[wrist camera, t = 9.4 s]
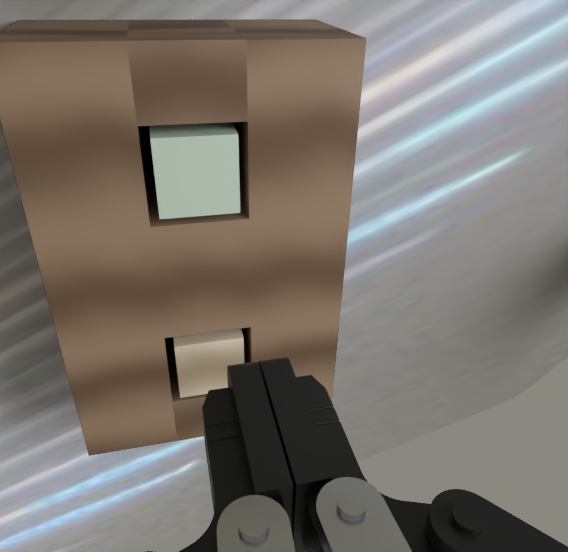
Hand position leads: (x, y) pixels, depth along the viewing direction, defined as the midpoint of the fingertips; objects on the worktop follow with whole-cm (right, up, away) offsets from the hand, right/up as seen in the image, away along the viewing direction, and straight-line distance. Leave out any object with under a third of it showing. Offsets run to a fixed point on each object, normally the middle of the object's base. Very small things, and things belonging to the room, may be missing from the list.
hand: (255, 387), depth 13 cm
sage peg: (-5, +12, +19) cm, 23 cm away
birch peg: (-6, +1, +25) cm, 25 cm away
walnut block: (-5, +7, +22) cm, 23 cm away
